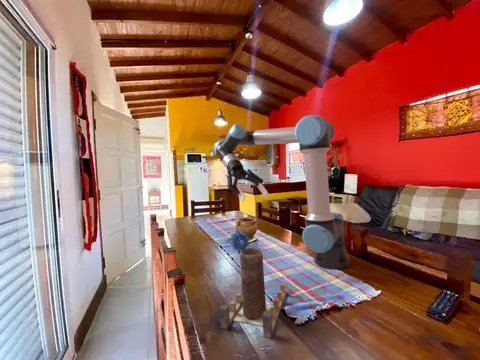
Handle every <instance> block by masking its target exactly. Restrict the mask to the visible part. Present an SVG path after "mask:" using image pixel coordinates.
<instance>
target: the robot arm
mask: <svg viewBox="0 0 480 360" xmlns="http://www.w3.org/2000/svg"><path fill="white" fill-rule="evenodd" d="M334 136H335V128H334V125H333V123H332V122H331V121H330V120H328V119H325V118H324V117H321V116H320V115H317V114H314V115H313V114H309V115H306V116H303V117H302V118H300V119H299V120H298V122H297V123H296V125H295V126H291V127H280V128H279V127H278V128H277V127H276V128H268V129H256V130H246V128H245V127H243V126H242V125H241V124H238V123H235V124H233V125H232V127H230V129H229V130H228V132H227V134H226V135H225V137H224V138H223V139H220V140H218V141H216V142H215V143H214V145H213V150H214V152H215V154H216V156H217V157H218V159H220V161H221V163H222V164H223V166H224V167H225V168H226V170H227V172H226V173H225V176H226V180H227V189H228V190H231V192H234V194H236V195H237V196H238V198H239V199H240V200H241V202H244V201H245V199H246V198H247V197H246V195H245V194H244V192H243V191H242V189H241V188H240V186H239V185H238V181H242V180H245V181H247V182H250V183H251V184H253V185H255V186H257V189H258V190H259V191H260V193H261V194H262V196H263V197H264V198H266V197H267V196H268V194H269V192H268V190H267V189H266V186H264V184H263V183H264V182H265V180H264V179H262V177H260V176H258V175H257V174H255V173H254V172H253V171H252V170H251V169H250V168H247V170H246V169H245V168H244V165H243V163H242V162H241V160H240V159H239V158H238V156H237V155H236V154H235V152H234V151H236V149H237V148H238V146H239V145H240V146H257V145H258V146H259V145H277V144H278V145H279V144H280V145H282V144H299V146H298V147H299V152H300V153H301V154H302V155H303V158H304V159H303V162H304V171H305V172H304V175H305V185H306V186H305V188H306V199H307V200H306V201H307V202H306V203H307V214H306V215H305V216H304V224H305V225H304V227H305V228H304V229H303V230H302V234H301V236H302V241H303V244H304V245H305V247H307V248H308V249H309V250H310V251H312V252H314V255H313V261H314V263H315V264H316V266H319V267H320V268H324V269H329V270H340V269H344V268H347V267H349V265H350V257H349V255H348V252H347V250H346V247H345V232H344V231H345V230H344V226H345V225H344V216H343V214H342V213H340V212H331V202H330V189H329V173H328V171H329V170H328V159H327V153H328V152H329V151H330V149H331V144H330V143H331V141H332V140H333V138H334ZM233 177H234V179H233Z"/></svg>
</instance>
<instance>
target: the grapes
mask: <svg viewBox="0 0 480 360" xmlns="http://www.w3.org/2000/svg"><path fill="white" fill-rule="evenodd" d="M230 238H231V239H230V241H229V244H230V245H231V246H232V249H233V250H234V251H238V252H239V253H240V251H241V250H242V249H246V248H248V247H247V246H249V245H250V241H249V236H248V235H246V233H245V232H244V231H243V230H241V231H239V230H236V231H235V232H234V233H231V235H230Z"/></svg>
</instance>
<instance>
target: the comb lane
mask: <svg viewBox="0 0 480 360" xmlns="http://www.w3.org/2000/svg"><path fill="white" fill-rule="evenodd" d="M279 286H280V289H278V290H277V292H276V298H274V299H273V305H267V304H266V311H265V312H264V313H263V315H262V316H260V317H258V318H247V317H245V316H244V314H243V301H242V286H241V287H240V291H241V292H237V293H236V294H235V300H231V301H230V302H229V305H226V304H222V305H221V306H220V308H219V318H220V328H221V329H223V330H228V329H229V328H230V326H231V323H232V321H233V322H237V323H242V324H249V325H253V326H257V327H258V326H259V327H262V329H263V337H264V338H267V339H272V336H273V334H274V333H273V331H274V328H275V325H276V323H277V320H278V318H279V315H280V312H281V310H282V307H281V306H283V304H284V301H285V299H286V297H287V292H288V291H287V289H286V288H287V287H286V283H282V282H281V283H280V285H279ZM284 298H285V299H284ZM282 303H283V304H282Z"/></svg>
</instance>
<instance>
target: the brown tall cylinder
mask: <svg viewBox="0 0 480 360" xmlns="http://www.w3.org/2000/svg"><path fill="white" fill-rule="evenodd" d="M239 262H240V277H241V280H240V281H241V287H242V294H241V295H242V301H243V304H242V305H243V314H244V316H245V317H247V318H258V317H260V316H262V315H263V313H264V312H265V311H266V305H267V303H266V302H267V301H266V299H267V298H266V287H265V285H266V284H265V272H264V256H263V251H261V250H259V249H256V248H252V247H251V248H250V247H247V248H246V249H242V250H241V251H240V252H239Z"/></svg>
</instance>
